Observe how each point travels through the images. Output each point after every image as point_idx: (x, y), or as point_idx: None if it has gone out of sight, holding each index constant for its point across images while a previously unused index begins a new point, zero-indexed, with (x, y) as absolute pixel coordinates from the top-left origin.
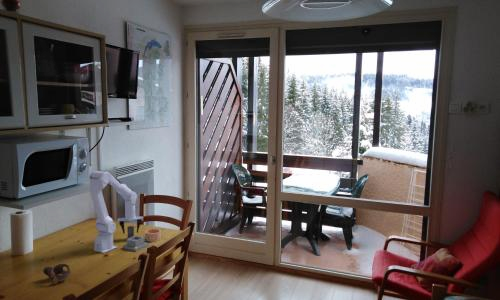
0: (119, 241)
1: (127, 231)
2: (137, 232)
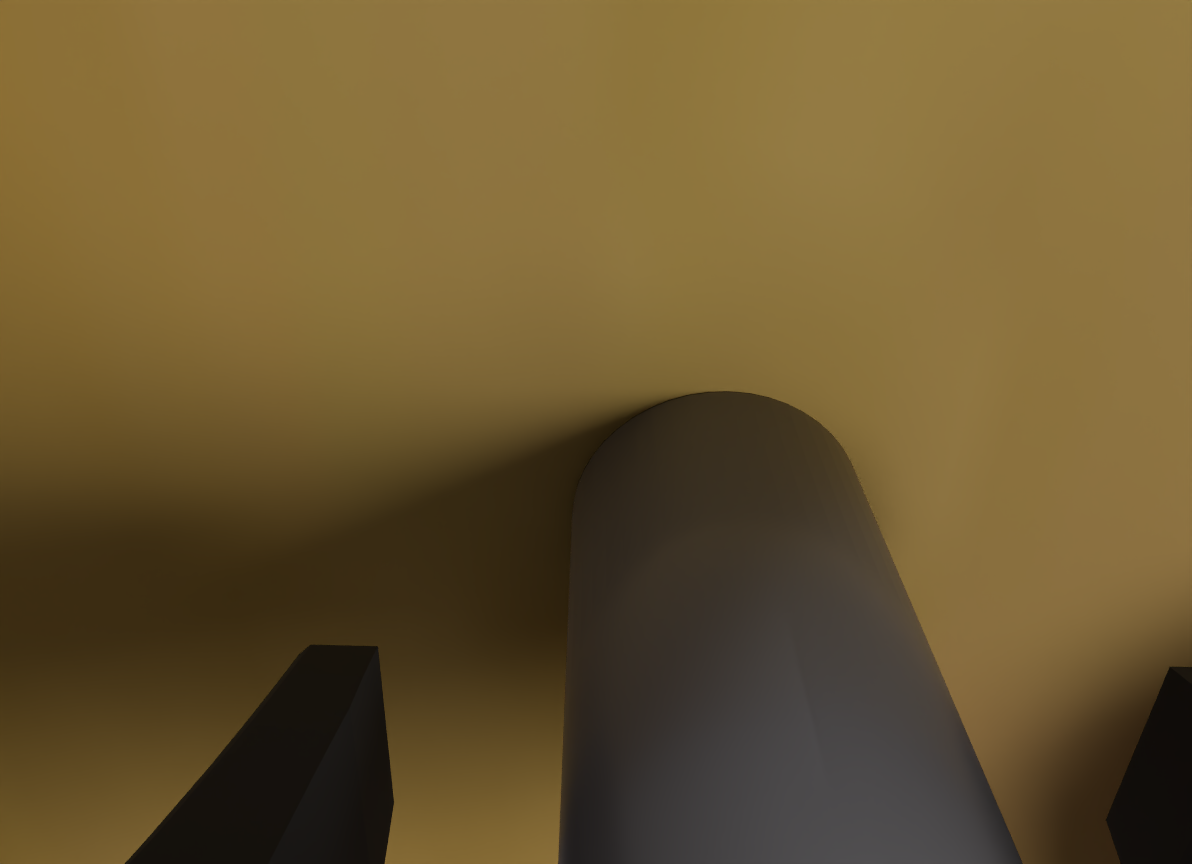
0: (245, 679)
1: (560, 851)
2: (1148, 845)
